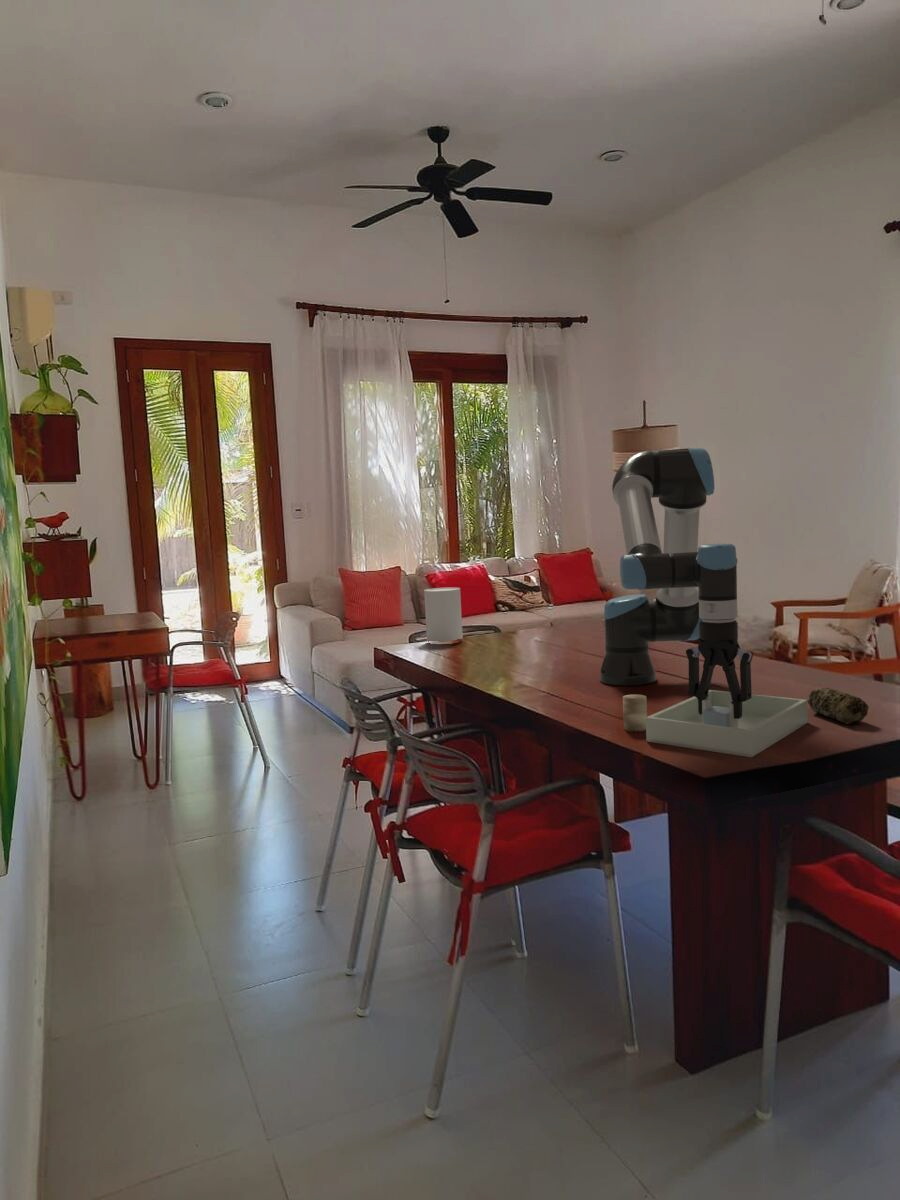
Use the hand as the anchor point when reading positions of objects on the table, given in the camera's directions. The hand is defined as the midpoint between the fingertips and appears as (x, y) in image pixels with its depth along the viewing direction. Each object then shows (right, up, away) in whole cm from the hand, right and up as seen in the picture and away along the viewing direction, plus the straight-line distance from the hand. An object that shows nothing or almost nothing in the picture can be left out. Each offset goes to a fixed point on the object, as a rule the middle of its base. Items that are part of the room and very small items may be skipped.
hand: (720, 731), depth 178 cm
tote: (+3, 0, +3) cm, 4 cm away
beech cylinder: (-15, -1, +10) cm, 18 cm away
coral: (+28, +1, +9) cm, 30 cm away
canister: (-58, +11, +148) cm, 159 cm away
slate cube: (0, 0, 0) cm, 0 cm away
